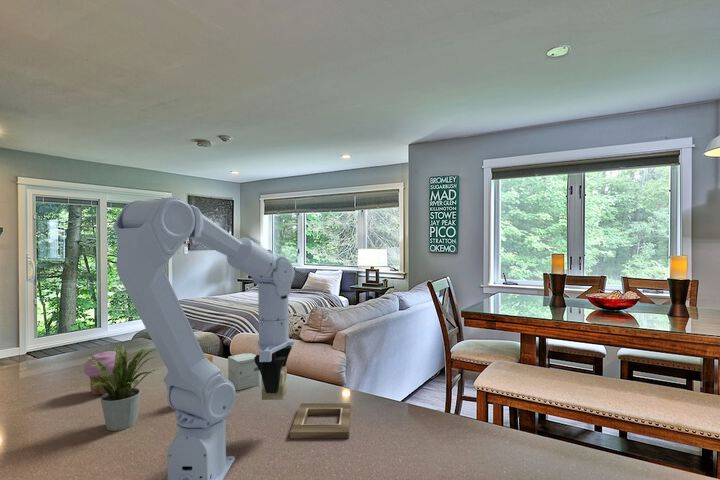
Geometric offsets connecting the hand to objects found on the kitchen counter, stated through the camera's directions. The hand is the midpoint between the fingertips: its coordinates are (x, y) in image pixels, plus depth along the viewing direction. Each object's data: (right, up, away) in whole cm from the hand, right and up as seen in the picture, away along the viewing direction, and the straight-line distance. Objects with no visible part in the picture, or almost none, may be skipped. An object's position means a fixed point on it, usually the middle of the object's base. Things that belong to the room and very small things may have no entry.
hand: (274, 388), depth 78 cm
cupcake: (-46, -9, +21) cm, 52 cm away
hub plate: (+9, -8, +3) cm, 13 cm away
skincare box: (-13, -9, +25) cm, 30 cm away
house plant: (-30, -9, +3) cm, 32 cm away
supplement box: (-20, -9, +16) cm, 27 cm away
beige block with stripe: (0, -2, 0) cm, 2 cm away
